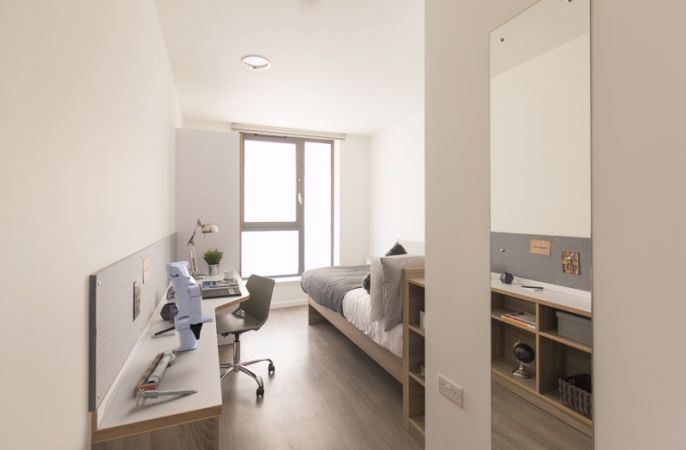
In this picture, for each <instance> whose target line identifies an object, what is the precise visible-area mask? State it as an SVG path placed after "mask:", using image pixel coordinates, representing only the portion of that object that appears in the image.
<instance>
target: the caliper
mask: <svg viewBox="0 0 686 450" xmlns="http://www.w3.org/2000/svg"><path fill="white" fill-rule="evenodd" d="M143 390H144V388H143ZM143 390H142V391H141V389H139V392H137V395H135V405H136V407H139V404H140V399H141V398H142V401H141V402H142V403H141V404H142V405H141V406H145V403H146V402H147V399H152V400H153V399H156V400H157V399H158V397H166V396H179V395H180V396H181V395H182V396H183V395H190V394H194V393H199V392H198V389H195V388H187V389H186V388H185V389H172V390H171V389H170V390H158V389H157V390H153V391H145V392H143Z"/></svg>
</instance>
